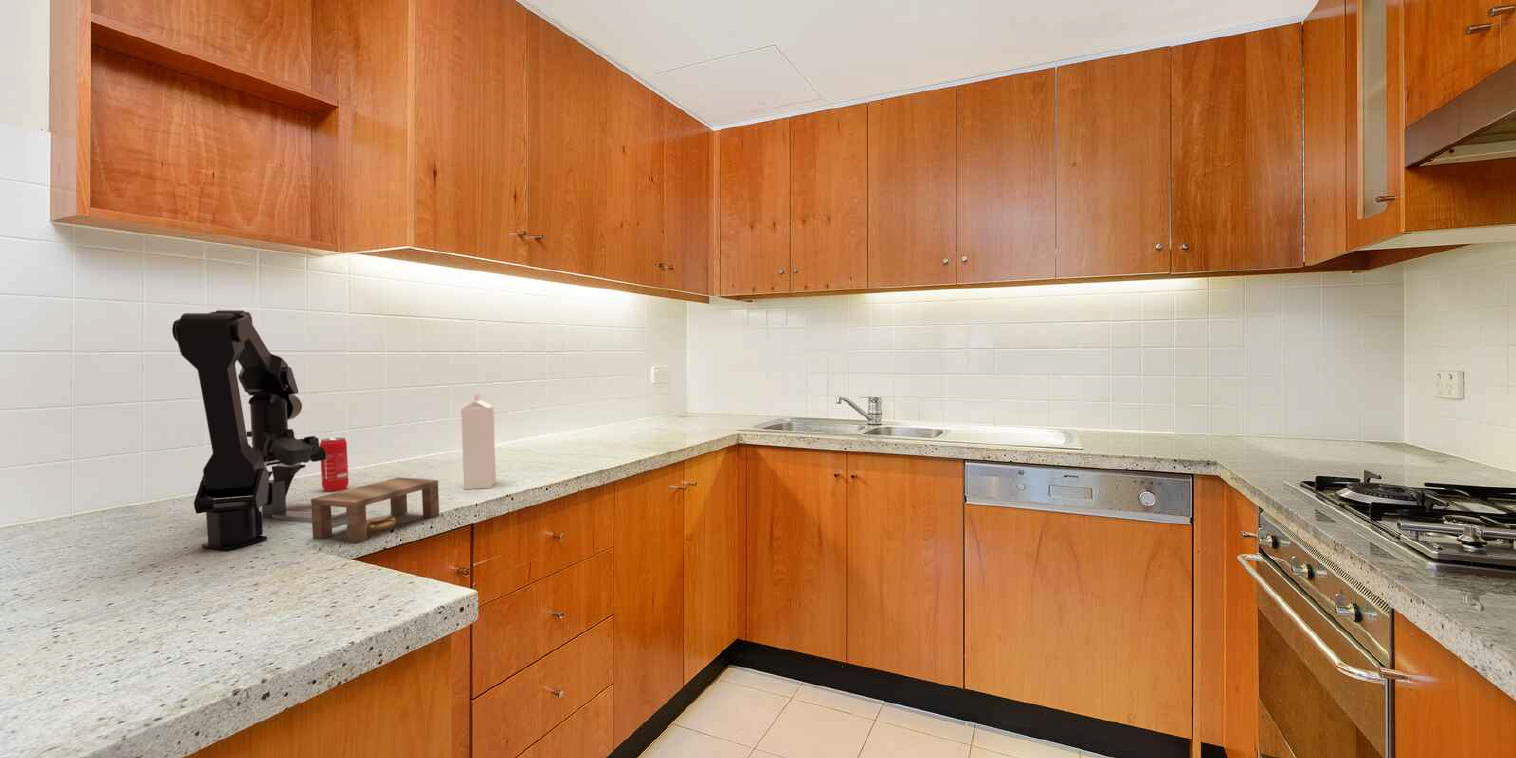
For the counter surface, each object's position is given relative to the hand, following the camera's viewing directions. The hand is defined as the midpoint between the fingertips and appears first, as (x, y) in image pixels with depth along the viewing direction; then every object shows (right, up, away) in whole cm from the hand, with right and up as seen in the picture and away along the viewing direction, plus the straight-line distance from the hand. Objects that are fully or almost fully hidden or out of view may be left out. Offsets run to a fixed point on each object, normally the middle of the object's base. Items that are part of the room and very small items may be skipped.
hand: (273, 503), depth 125 cm
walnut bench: (+26, -3, -8) cm, 27 cm away
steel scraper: (+8, -3, -2) cm, 9 cm away
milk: (+30, -1, +25) cm, 39 cm away
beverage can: (-3, -2, +23) cm, 23 cm away
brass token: (+26, -3, -8) cm, 27 cm away
